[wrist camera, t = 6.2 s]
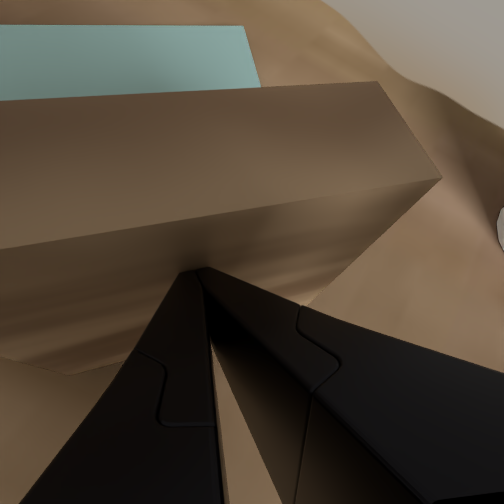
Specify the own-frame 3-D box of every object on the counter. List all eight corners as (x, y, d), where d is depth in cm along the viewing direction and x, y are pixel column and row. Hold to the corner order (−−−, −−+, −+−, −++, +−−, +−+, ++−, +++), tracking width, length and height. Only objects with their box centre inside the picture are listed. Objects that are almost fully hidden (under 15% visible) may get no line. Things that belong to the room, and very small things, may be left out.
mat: (301, 235, 20) (303, 233, 20) (17, 291, 16) (13, 290, 15) (242, 31, 23) (243, 26, 22) (-13, 30, 19) (-17, 24, 18)
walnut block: (297, 313, 18) (442, 177, 7) (69, 375, 15) (-248, 289, 4) (278, 260, 19) (377, 81, 9) (65, 306, 16) (-181, 109, 6)
